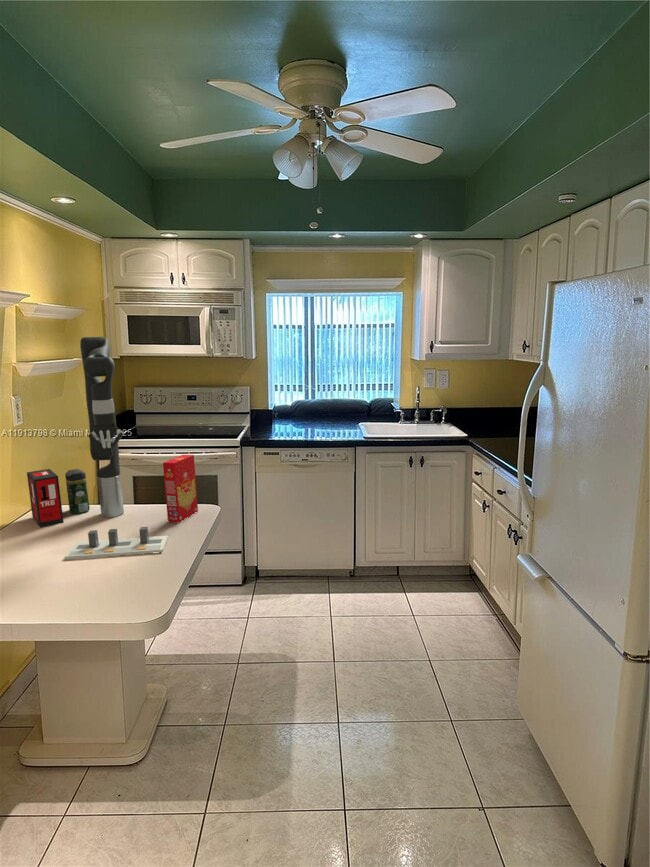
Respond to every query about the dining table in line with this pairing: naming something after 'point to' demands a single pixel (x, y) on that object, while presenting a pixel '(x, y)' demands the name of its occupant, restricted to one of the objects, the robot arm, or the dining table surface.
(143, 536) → the switch
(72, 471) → the coffee jar
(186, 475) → the food packaging
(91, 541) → the switch
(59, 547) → the dining table surface
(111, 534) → the middle switch
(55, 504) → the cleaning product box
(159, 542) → the switch panel
